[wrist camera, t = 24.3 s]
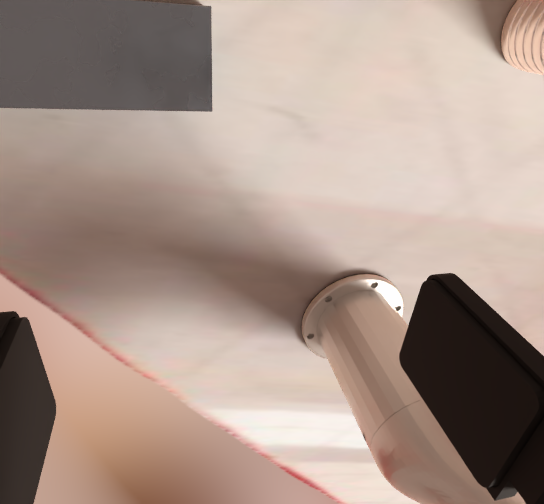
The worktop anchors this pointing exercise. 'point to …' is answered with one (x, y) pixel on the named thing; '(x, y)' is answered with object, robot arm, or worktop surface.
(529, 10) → the water bottle
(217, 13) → the worktop surface
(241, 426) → the worktop surface
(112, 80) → the housing
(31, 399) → the robot arm
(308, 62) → the worktop surface
